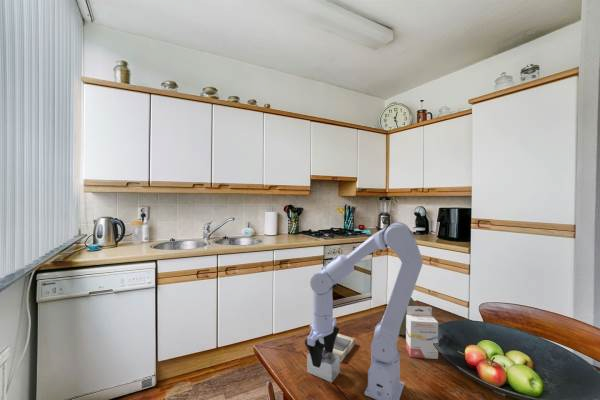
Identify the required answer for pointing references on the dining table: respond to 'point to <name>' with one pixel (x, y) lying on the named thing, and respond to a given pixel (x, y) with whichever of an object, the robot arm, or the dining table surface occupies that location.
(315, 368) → the housing
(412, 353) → the ink cartridge box
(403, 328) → the fruit
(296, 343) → the dining table surface
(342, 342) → the stand
